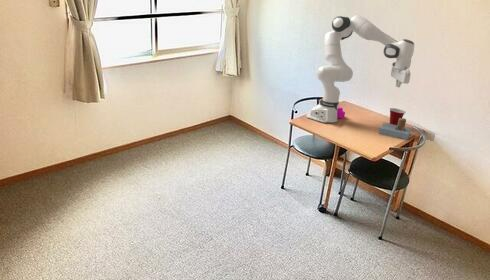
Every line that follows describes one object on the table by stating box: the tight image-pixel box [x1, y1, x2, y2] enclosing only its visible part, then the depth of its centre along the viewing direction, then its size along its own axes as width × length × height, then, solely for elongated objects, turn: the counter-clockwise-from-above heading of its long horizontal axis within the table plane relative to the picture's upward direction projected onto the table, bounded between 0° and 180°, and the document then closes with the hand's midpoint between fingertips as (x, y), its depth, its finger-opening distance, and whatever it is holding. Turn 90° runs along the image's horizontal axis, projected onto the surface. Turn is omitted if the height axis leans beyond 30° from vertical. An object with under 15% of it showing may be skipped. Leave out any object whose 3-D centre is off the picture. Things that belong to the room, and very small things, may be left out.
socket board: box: [378, 122, 412, 141], centre depth 260 cm, size 18×14×4 cm
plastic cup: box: [389, 107, 406, 125], centre depth 274 cm, size 11×11×12 cm
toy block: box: [337, 106, 346, 119], centre depth 290 cm, size 15×6×8 cm, turn 20°
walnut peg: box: [396, 117, 407, 131], centre depth 257 cm, size 4×4×10 cm
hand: (397, 86), depth 254 cm, fingers closed
